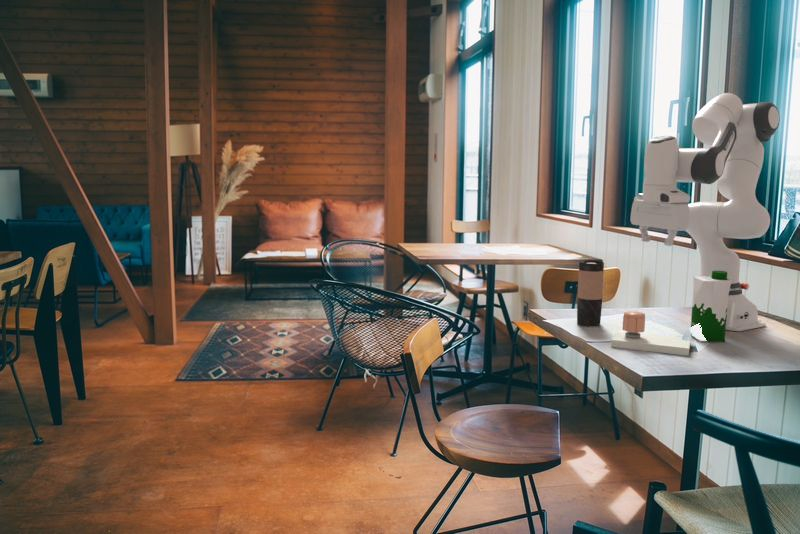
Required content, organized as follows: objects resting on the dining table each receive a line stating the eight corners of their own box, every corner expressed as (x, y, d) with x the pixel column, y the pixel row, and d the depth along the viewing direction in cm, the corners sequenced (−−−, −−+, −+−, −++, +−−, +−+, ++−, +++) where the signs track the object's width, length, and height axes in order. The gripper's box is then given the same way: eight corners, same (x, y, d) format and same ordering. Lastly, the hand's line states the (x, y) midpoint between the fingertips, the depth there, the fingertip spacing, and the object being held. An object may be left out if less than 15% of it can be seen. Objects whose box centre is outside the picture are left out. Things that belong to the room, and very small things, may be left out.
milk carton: (729, 343, 194) (735, 274, 191) (697, 342, 194) (702, 273, 191) (716, 335, 203) (721, 269, 200) (685, 335, 203) (690, 269, 200)
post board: (690, 345, 192) (692, 317, 190) (688, 355, 181) (690, 326, 180) (616, 337, 200) (618, 310, 199) (610, 346, 189) (612, 318, 188)
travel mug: (602, 327, 212) (605, 264, 209) (576, 326, 213) (579, 263, 210) (599, 321, 219) (603, 260, 216) (575, 320, 221) (578, 260, 218)
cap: (619, 328, 194) (620, 312, 193) (636, 327, 196) (637, 310, 195) (630, 333, 189) (631, 316, 188) (648, 331, 190) (649, 315, 189)
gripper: (626, 193, 200) (624, 239, 202) (676, 197, 181) (673, 248, 183) (643, 192, 202) (641, 238, 204) (694, 196, 183) (691, 247, 185)
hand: (656, 243), depth 193 cm, fingers open, 8 cm apart
